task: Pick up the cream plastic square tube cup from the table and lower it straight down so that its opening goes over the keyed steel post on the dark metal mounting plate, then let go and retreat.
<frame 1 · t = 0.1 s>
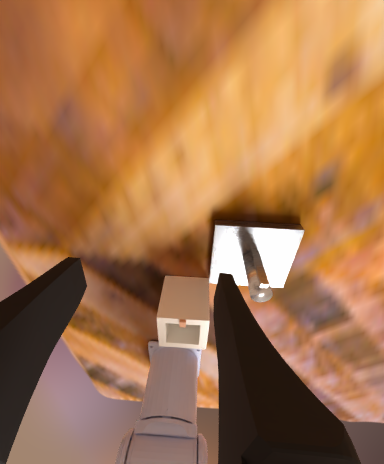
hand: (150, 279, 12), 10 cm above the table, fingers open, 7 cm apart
shaft block: (250, 252, 23), on the table
square tube cup: (186, 291, 27), on the table
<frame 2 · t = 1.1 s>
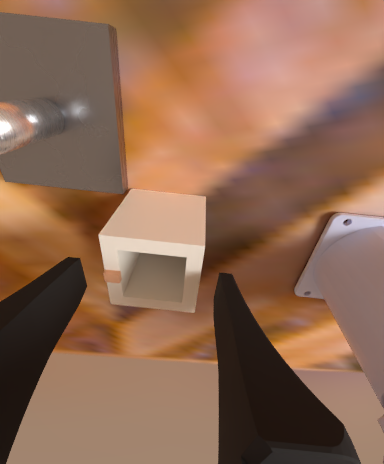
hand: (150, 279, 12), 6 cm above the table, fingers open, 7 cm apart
shaft block: (57, 115, 13), on the table
square tube cup: (167, 223, 16), on the table
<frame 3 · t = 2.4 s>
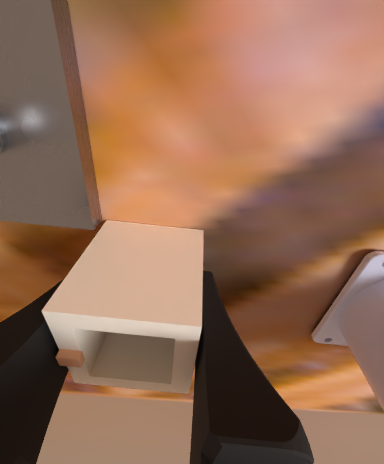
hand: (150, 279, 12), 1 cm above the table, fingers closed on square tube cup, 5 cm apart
square tube cup: (155, 261, 13), on the table, touching gripper
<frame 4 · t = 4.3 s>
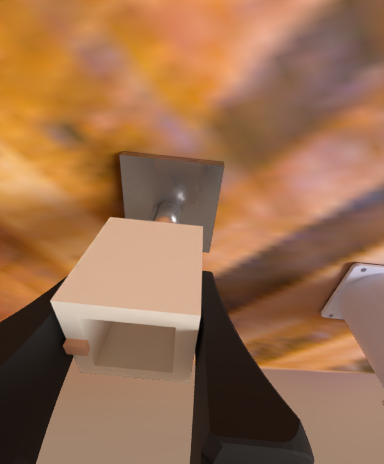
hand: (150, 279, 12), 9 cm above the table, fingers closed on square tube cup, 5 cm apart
shaft block: (171, 204, 19), on the table
square tube cup: (156, 257, 13), point 7 cm above the table, touching gripper
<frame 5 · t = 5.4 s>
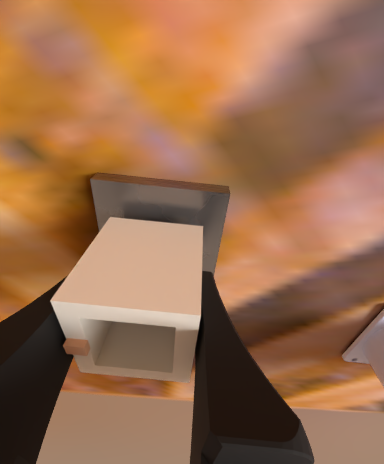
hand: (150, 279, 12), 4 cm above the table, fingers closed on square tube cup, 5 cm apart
shaft block: (162, 236, 15), on the table
square tube cup: (156, 257, 13), point 2 cm above the table, touching gripper
when the fingers open (4 cm above the table, at t = 6.2 s): square tube cup drops 1 cm, resting on shaft block.
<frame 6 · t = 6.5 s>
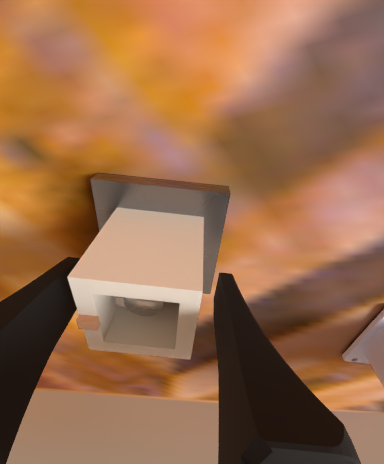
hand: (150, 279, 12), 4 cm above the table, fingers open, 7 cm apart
shaft block: (162, 236, 15), on the table
square tube cup: (159, 246, 14), point 1 cm above the table, touching shaft block
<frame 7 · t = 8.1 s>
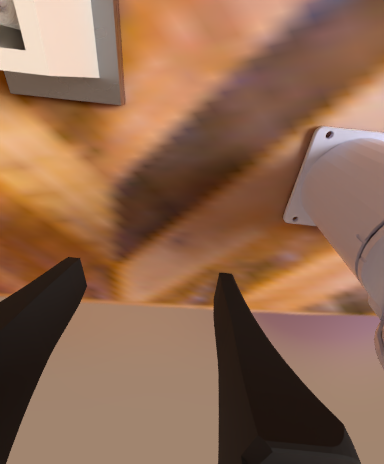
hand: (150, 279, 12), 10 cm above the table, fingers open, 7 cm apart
shaft block: (59, 23, 14), on the table
square tube cup: (50, 20, 13), point 1 cm above the table, touching shaft block
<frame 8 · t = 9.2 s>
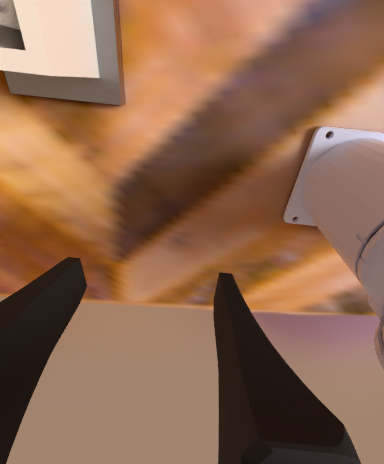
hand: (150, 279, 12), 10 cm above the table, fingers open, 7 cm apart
shaft block: (59, 23, 14), on the table
square tube cup: (50, 20, 13), point 1 cm above the table, touching shaft block
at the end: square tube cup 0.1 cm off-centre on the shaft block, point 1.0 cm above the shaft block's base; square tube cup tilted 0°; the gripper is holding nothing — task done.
